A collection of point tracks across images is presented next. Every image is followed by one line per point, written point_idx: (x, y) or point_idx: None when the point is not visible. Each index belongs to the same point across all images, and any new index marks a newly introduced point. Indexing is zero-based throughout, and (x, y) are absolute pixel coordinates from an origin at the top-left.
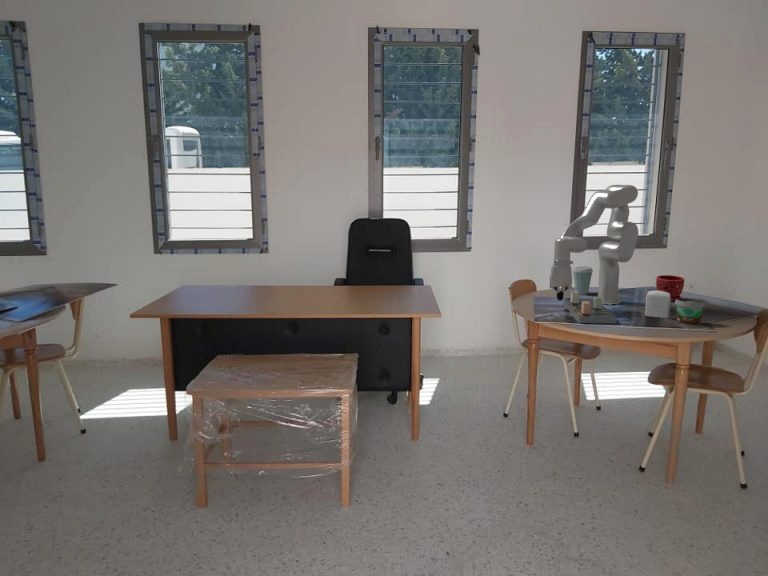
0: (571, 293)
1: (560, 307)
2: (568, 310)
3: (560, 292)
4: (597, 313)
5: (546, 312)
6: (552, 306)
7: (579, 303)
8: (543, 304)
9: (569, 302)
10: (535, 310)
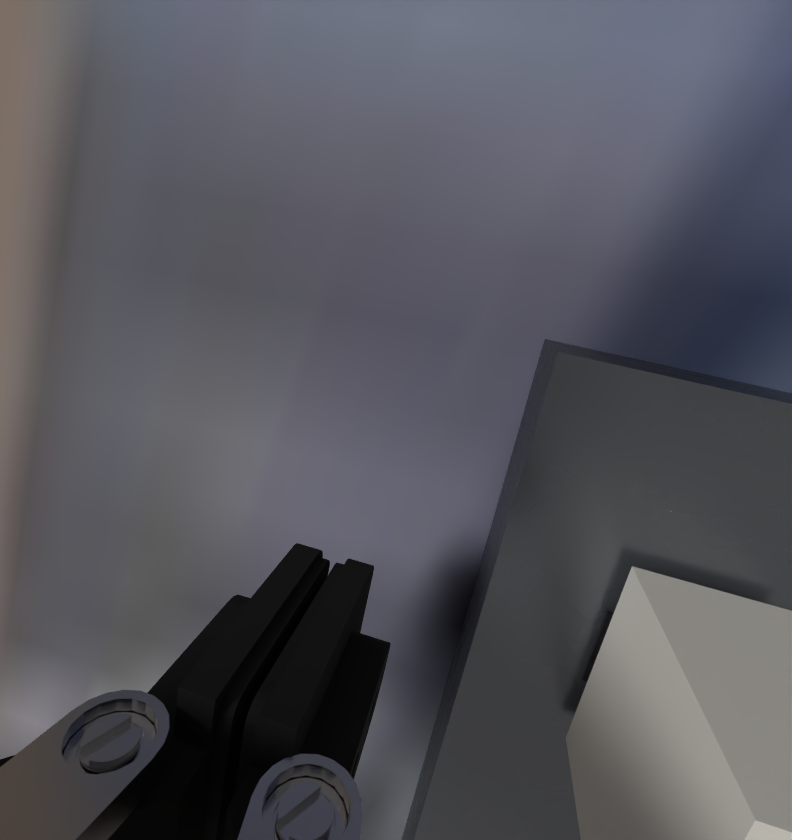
0: (687, 824)
1: (441, 417)
2: (441, 705)
3: (236, 790)
4: None
5: (138, 636)
6: (332, 311)
7: None
8: (225, 108)
9: (580, 580)
10: (28, 502)
